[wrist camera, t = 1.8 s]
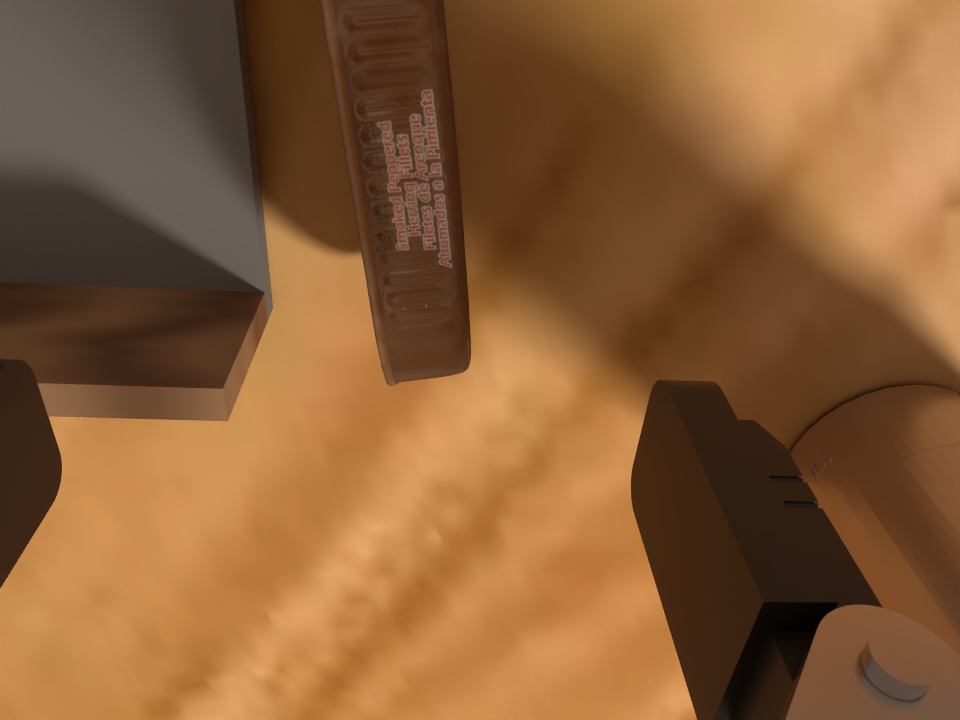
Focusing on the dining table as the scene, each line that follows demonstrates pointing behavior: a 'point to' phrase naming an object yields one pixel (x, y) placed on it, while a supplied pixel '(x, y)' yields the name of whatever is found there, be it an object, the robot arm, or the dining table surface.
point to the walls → (132, 348)
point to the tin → (403, 179)
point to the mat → (129, 146)
